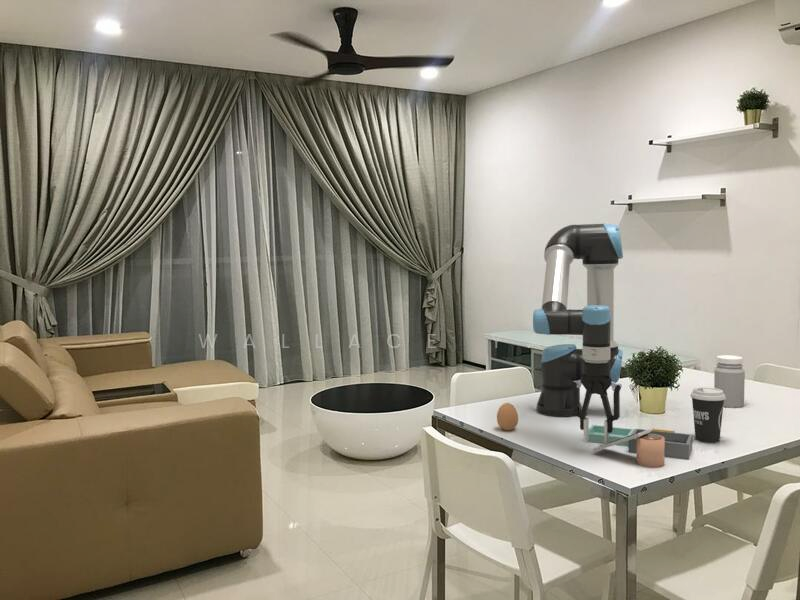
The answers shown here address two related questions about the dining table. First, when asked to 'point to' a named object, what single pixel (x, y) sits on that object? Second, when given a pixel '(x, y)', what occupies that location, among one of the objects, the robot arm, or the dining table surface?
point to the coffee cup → (707, 413)
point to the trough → (598, 434)
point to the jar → (730, 380)
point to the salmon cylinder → (650, 450)
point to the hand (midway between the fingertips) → (596, 442)
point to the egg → (507, 416)
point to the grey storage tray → (669, 443)
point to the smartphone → (621, 440)
